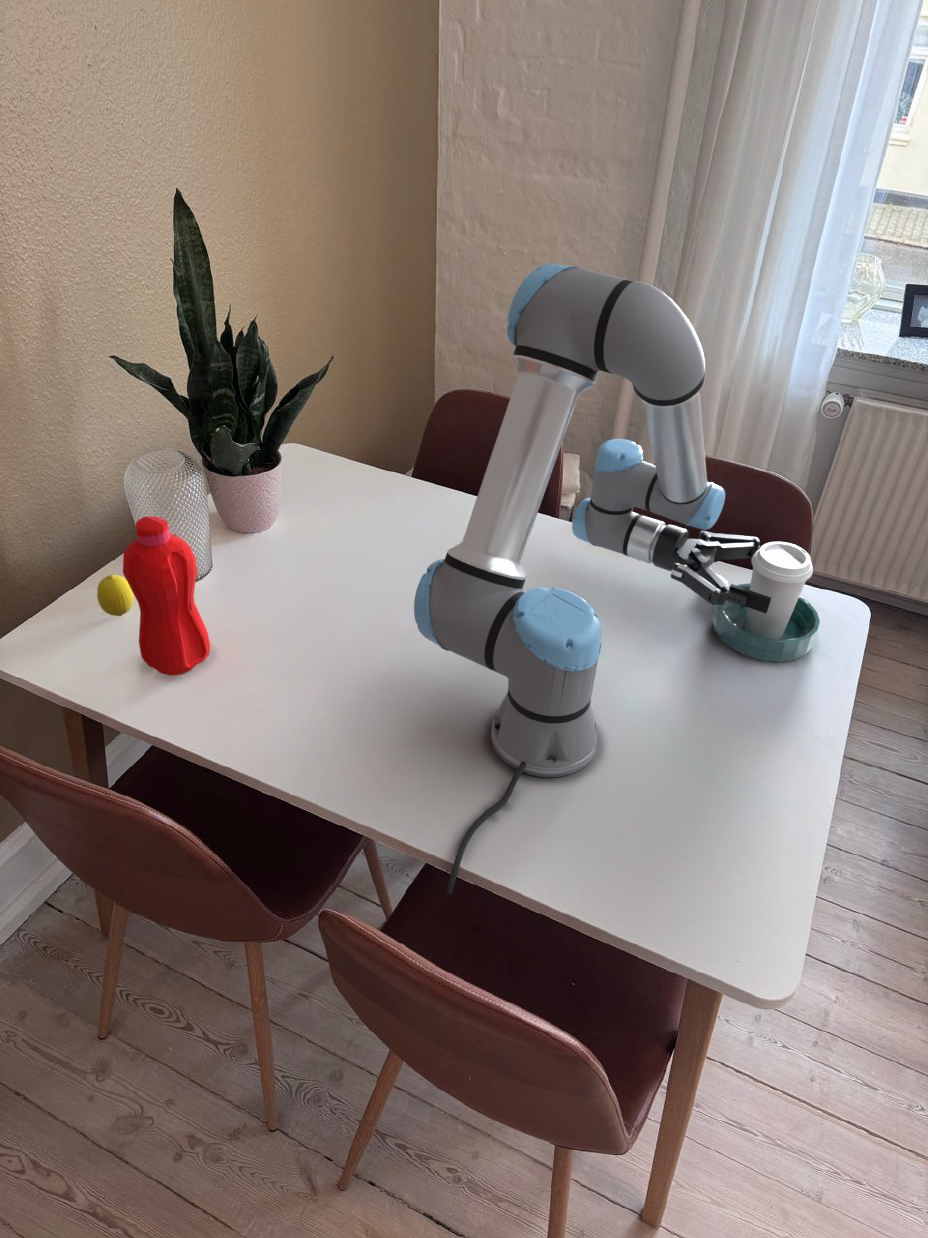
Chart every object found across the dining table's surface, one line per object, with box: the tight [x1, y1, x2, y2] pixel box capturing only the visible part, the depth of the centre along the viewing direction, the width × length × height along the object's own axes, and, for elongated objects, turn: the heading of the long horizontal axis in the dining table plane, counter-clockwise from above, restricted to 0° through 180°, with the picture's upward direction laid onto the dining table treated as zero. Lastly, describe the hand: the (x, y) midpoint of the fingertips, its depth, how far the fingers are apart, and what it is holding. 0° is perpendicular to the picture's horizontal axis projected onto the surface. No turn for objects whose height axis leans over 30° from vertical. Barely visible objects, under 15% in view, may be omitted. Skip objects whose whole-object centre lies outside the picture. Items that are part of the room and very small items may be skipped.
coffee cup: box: [744, 541, 814, 640], centre depth 152 cm, size 10×10×15 cm
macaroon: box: [717, 574, 730, 588], centre depth 166 cm, size 4×5×2 cm
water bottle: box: [122, 515, 211, 677], centre depth 139 cm, size 9×11×25 cm
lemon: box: [96, 574, 135, 617], centre depth 151 cm, size 6×6×8 cm
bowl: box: [712, 582, 821, 662], centre depth 155 cm, size 16×16×4 cm
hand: (782, 585), depth 150 cm, fingers open, 13 cm apart
